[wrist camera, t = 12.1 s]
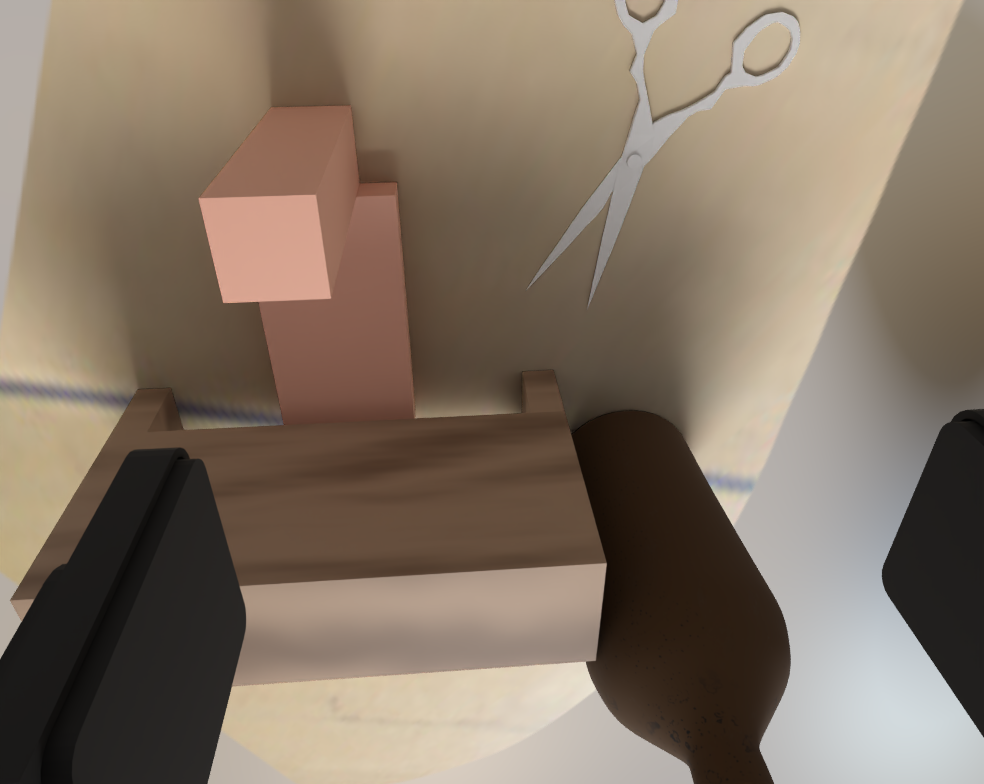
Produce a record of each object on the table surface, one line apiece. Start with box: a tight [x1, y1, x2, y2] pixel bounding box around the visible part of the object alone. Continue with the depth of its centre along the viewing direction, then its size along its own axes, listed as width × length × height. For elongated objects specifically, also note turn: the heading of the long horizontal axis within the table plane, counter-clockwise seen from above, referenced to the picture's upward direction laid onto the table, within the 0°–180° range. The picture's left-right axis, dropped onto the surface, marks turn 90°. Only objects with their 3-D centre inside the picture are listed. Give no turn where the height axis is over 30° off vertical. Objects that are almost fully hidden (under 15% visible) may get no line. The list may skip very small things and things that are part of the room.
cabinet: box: [10, 370, 607, 686], centre depth 41 cm, size 8×26×17 cm, turn 91°
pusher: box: [198, 105, 415, 425], centre depth 36 cm, size 19×8×14 cm, turn 1°
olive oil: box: [571, 411, 791, 784], centre depth 41 cm, size 11×11×25 cm
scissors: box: [527, 0, 800, 309], centre depth 39 cm, size 11×1×20 cm
